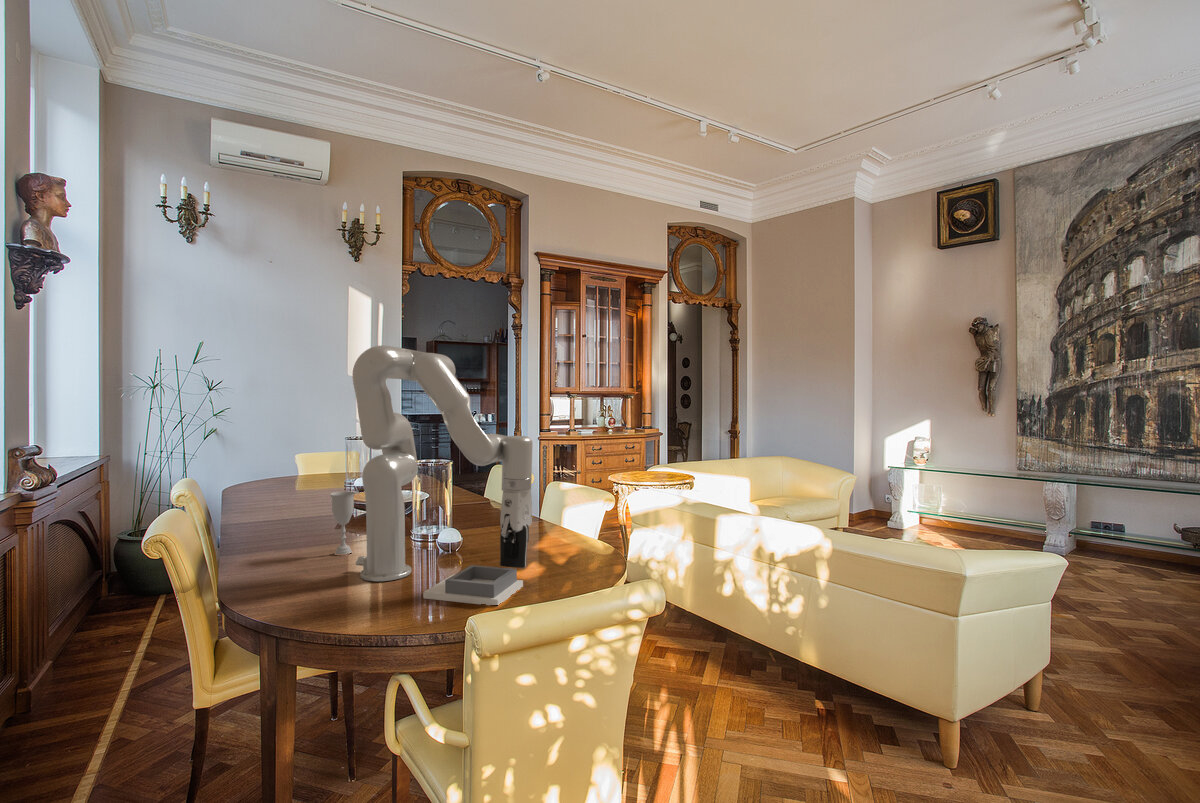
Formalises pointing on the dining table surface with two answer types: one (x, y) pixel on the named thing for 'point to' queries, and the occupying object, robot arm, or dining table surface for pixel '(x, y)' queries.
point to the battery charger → (521, 541)
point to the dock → (477, 586)
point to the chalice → (343, 515)
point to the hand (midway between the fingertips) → (514, 554)
